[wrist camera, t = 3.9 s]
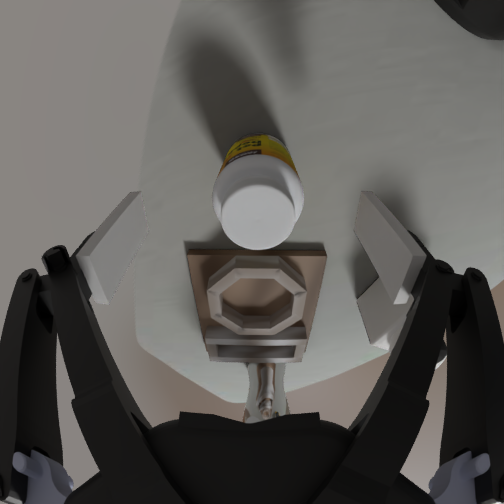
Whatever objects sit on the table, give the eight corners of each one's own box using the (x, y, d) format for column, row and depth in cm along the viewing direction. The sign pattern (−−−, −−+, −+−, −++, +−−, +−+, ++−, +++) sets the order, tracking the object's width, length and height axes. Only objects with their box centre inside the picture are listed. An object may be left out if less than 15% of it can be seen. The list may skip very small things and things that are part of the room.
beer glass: (276, 350, 38) (279, 447, 26) (294, 370, 41) (301, 455, 29) (236, 362, 40) (230, 452, 28) (257, 380, 43) (256, 460, 31)
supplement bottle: (262, 118, 20) (265, 145, 12) (303, 167, 23) (331, 226, 14) (212, 160, 22) (183, 215, 14) (254, 203, 25) (252, 277, 16)
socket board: (325, 250, 27) (331, 268, 25) (304, 346, 37) (306, 364, 35) (189, 249, 28) (182, 267, 25) (207, 345, 38) (204, 363, 35)
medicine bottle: (354, 299, 32) (380, 384, 22) (393, 259, 28) (437, 342, 18) (388, 315, 34) (415, 389, 24) (424, 280, 30) (463, 353, 20)
